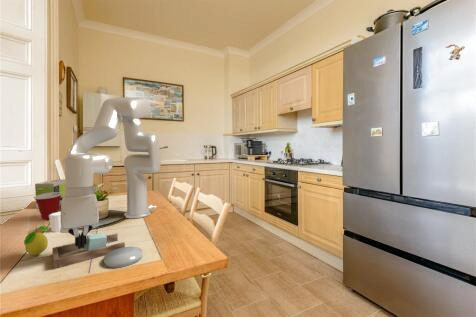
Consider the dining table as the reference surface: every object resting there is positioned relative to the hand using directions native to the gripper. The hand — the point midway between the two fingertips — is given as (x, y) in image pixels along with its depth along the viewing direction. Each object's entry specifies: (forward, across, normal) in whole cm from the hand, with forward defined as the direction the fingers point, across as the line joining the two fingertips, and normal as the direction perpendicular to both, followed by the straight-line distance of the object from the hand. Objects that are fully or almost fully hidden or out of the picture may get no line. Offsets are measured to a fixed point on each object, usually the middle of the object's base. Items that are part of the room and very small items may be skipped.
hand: (80, 247), depth 75 cm
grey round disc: (+3, -10, +11) cm, 15 cm away
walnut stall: (+3, -3, -1) cm, 4 cm away
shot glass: (+3, +4, -34) cm, 34 cm away
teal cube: (+2, -4, 0) cm, 5 cm away
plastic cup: (+2, +8, -56) cm, 56 cm away
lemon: (+3, +11, -10) cm, 15 cm away
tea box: (+2, +5, -84) cm, 85 cm away
